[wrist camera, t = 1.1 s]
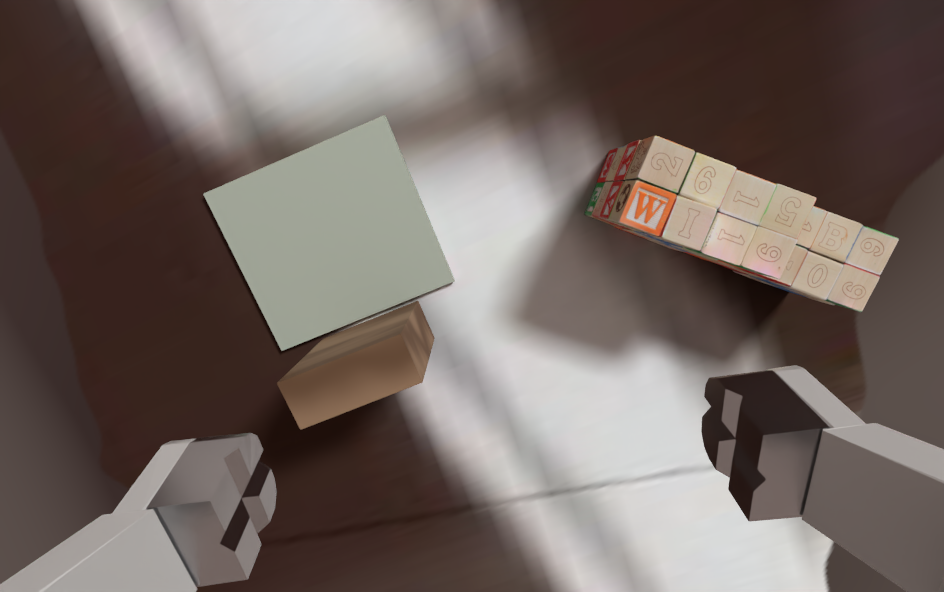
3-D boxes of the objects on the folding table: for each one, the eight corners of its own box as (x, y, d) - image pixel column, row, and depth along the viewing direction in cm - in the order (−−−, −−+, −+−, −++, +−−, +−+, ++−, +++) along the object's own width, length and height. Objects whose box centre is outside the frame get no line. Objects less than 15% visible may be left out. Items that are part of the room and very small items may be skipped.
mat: (454, 280, 48) (454, 281, 48) (283, 349, 50) (281, 351, 49) (385, 115, 46) (384, 115, 45) (206, 193, 47) (203, 193, 46)
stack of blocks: (819, 231, 48) (938, 243, 35) (789, 293, 49) (893, 325, 37) (607, 149, 46) (655, 133, 34) (581, 215, 47) (618, 222, 35)
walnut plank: (434, 338, 50) (422, 382, 38) (340, 375, 50) (300, 429, 38) (418, 300, 49) (400, 333, 37) (323, 338, 50) (276, 383, 38)
